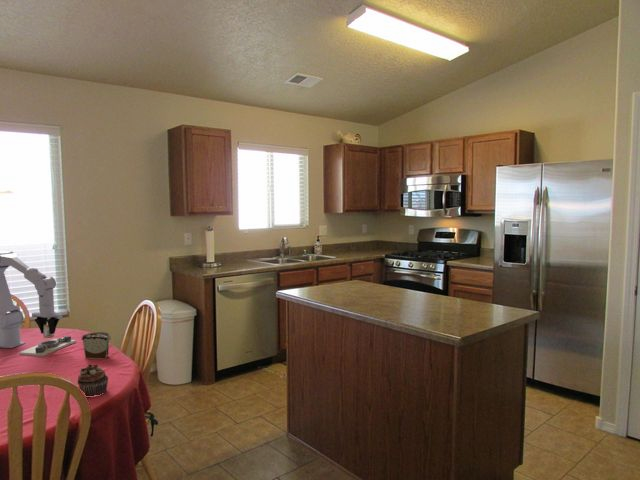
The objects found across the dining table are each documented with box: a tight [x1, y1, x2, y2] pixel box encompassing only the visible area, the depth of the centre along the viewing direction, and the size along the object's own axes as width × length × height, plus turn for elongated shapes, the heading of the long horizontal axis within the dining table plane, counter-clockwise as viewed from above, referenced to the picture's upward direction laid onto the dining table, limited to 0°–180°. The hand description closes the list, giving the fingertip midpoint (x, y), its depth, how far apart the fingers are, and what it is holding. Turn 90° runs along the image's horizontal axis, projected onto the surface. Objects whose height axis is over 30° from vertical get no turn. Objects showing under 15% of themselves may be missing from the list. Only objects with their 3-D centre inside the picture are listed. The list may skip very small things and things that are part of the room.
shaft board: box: [18, 338, 77, 357], centre depth 205 cm, size 12×20×2 cm, turn 169°
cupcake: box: [77, 364, 109, 396], centre depth 157 cm, size 10×10×10 cm
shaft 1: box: [35, 344, 47, 353], centre depth 198 cm, size 5×3×3 cm, turn 9°
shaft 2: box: [56, 335, 72, 343], centre depth 211 cm, size 5×3×3 cm, turn 149°
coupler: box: [42, 322, 55, 339], centre depth 205 cm, size 4×4×6 cm
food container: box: [81, 331, 112, 360], centre depth 194 cm, size 12×6×10 cm, turn 84°
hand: (48, 333), depth 205 cm, fingers closed on coupler, 4 cm apart
